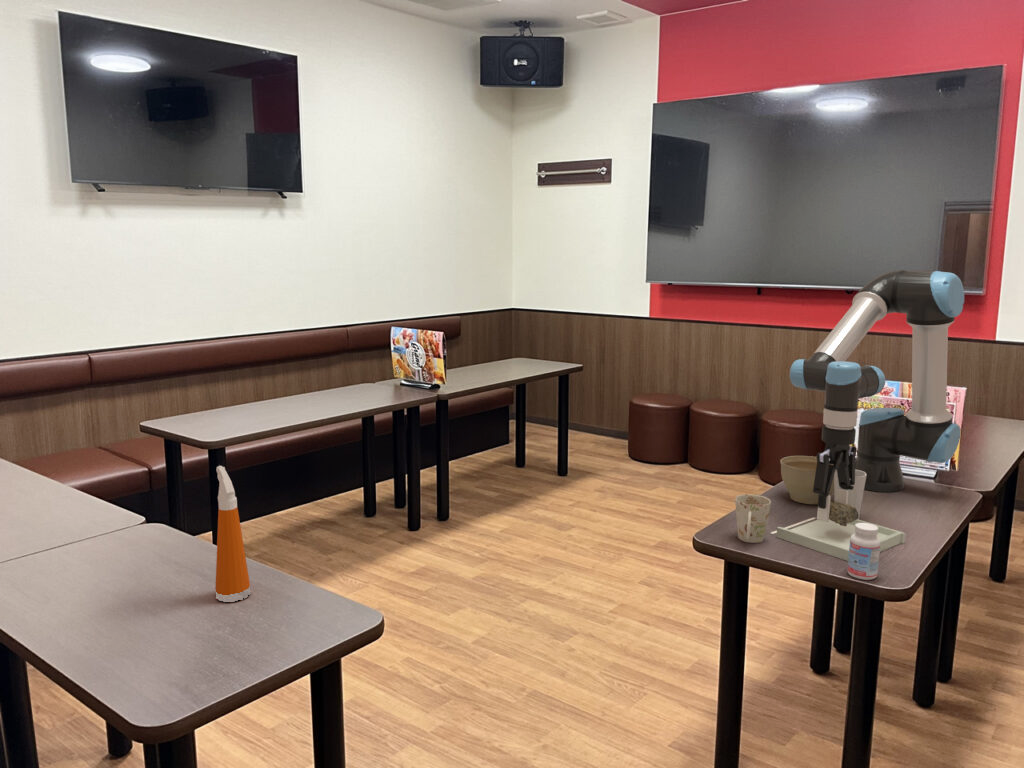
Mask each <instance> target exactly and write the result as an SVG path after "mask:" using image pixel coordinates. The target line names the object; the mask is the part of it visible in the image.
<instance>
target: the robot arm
mask: <svg viewBox="0 0 1024 768" xmlns="http://www.w3.org/2000/svg"><path fill="white" fill-rule="evenodd" d="M851 304H852V305H851V306H850V307H849V309H848V310H847V311H846V313H845V314H844V315H843V317H842V318H841V319H839V321H838V323H837V324H836V325H835V326H834V327H833V328H832V329H831V331H830V333H829V334H828V335H827V336H826V337H825V338H824V340H823V341H822V342H821V344H819V346H818V348H817V349H816V350H815V351H814V353H812V355H811V356H810V357H809V358H808V359H806V358H803V359H802V358H801V359H795V361H794V362H793V363H792V364H791V367H790V370H789V380H790V382H791V384H792V385H793V386H794V387H796V388H799V389H804V390H805V391H806V390H807V391H808V390H809V391H816V392H824V404H823V405H824V406H823V407H824V408H823V411H822V413H823V418H822V423H823V426H821V441H822V442H824V443H825V447H824V451H823V452H817V454H816V457H817V467H816V474H815V480H814V487H813V493H816V494H818V495H819V497H818V504H817V512H816V513H817V515H816V520H821V521H824V522H829V512H830V502H831V497H832V496H831V495H829V491H830V488H831V484H832V481H833V477H834V474H835V470H837V475H838V481H839V487H841V488H839V487H838V488H837V492H836V502H839V503H842V504H847V503H848V491H849V489H850V490H853V488H854V486H851V485H854V484H855V469H856V470H860V471H863V472H865V473H866V474H867V475H866V481H865V486H864V490H867V491H872V492H882V493H883V492H885V493H891V492H900V491H903V489H904V487H905V478H904V475H903V474H904V473H903V470H902V466H901V463H900V458H901V456H902V457H906V458H910V459H916V460H922V461H924V462H925V461H926V462H928V463H931V462H932V463H938V464H945V463H947V462H949V461H950V460H951V459H952V458H953V456H954V455H955V453H956V451H957V448H958V447H959V443H960V439H961V435H962V432H961V431H962V430H961V426H960V425H959V424H957V423H955V422H953V414H952V413H951V412H950V410H948V409H947V388H948V345H949V344H948V343H949V340H948V338H949V327H951V325H952V324H953V323H955V319H956V317H959V316H960V315H961V313H962V311H963V309H964V304H965V289H964V286H963V283H962V280H961V278H960V277H959V276H958V275H956V274H955V273H952V272H948V271H947V272H946V271H940V270H903V269H901V270H899V269H898V270H897V269H896V270H893V271H888V272H886V273H883V274H881V275H878V276H877V277H876V278H874V279H872V280H871V281H869V282H868V283H866V284H865V285H863V286H862V288H860V289H859V291H858V292H857V293H856V294H855V295H854V296H853V298H852V302H851ZM894 313H896V314H905V315H906V316H905V317H906V320H905V321H906V324H908V325H909V326H910V328H912V331H911V332H912V333H911V334H912V337H911V338H912V346H911V348H912V349H911V350H912V351H911V355H912V356H911V360H912V361H911V364H912V365H911V369H912V371H911V409H909V410H908V411H906V413H905V410H903V409H902V408H898V407H897V408H896V407H878V408H876V407H875V408H867V409H865V410H863V411H862V412H861V413H860V416H859V417H860V418H859V423H858V436H857V447H856V446H852V445H854V443H855V442H856V432H857V431H856V428H855V427H857V422H858V421H857V418H858V407H859V399H863V398H870V397H873V396H876V395H878V394H880V393H881V392H882V391H883V390H884V388H885V387H886V375H885V374H884V372H883V371H882V370H881V368H879V367H877V366H874V365H865V364H864V365H863V366H861V365H860V364H859V363H858V362H854V361H847V359H848V358H849V357H850V355H851V354H853V352H854V351H855V349H856V348H857V346H859V344H860V343H861V341H862V340H863V339H864V338H865V336H866V335H867V334H868V332H870V330H871V329H872V327H873V326H874V325H875V324H876V323H877V321H881V320H883V319H884V318H885V317H886V315H887V314H894ZM830 464H833V465H830ZM850 479H851V480H850Z"/></svg>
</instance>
